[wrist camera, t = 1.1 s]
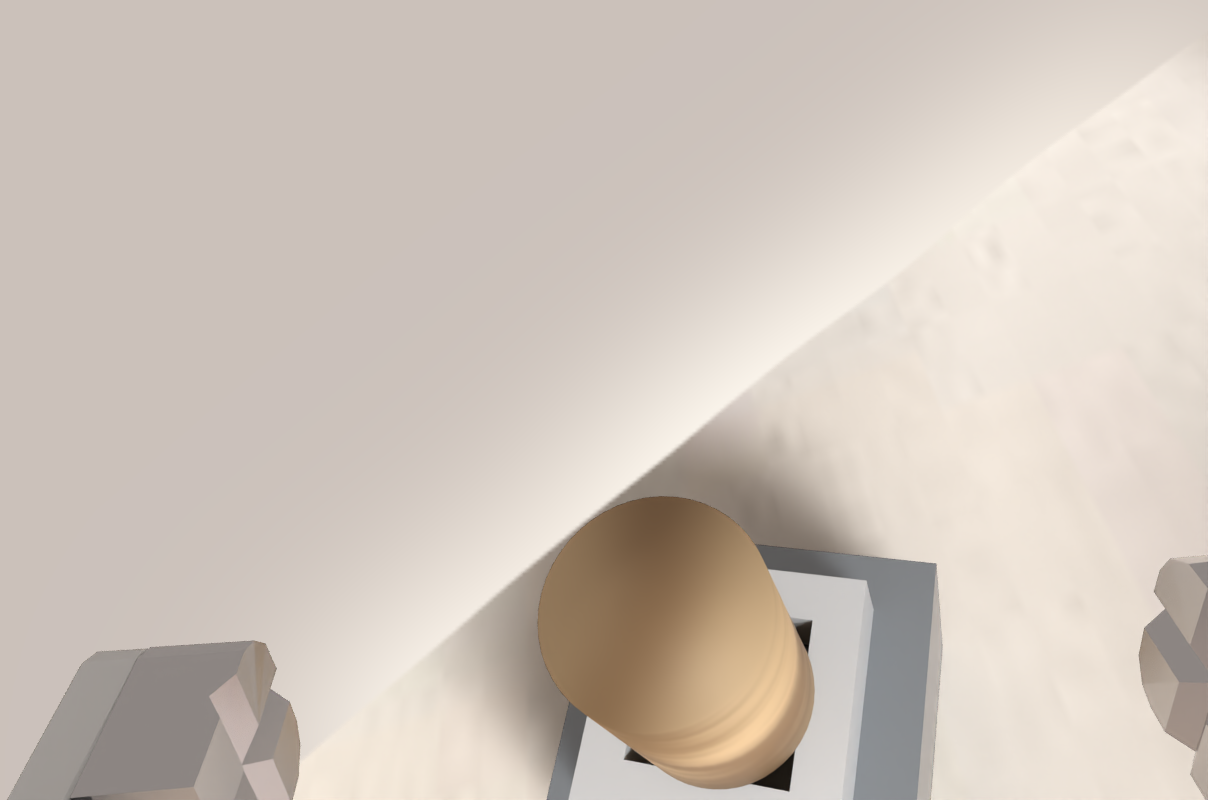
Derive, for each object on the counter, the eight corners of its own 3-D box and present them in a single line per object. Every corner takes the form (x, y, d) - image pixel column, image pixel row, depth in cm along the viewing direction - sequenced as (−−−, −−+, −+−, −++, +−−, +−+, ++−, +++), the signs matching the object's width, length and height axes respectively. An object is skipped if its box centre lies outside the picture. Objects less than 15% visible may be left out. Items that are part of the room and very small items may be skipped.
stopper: (837, 637, 35) (789, 507, 25) (814, 823, 32) (751, 754, 23) (668, 614, 37) (568, 487, 28) (634, 786, 34) (511, 710, 25)
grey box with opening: (942, 646, 43) (934, 530, 32) (918, 961, 38) (898, 948, 27) (672, 609, 47) (585, 497, 37) (616, 888, 42) (497, 852, 31)
